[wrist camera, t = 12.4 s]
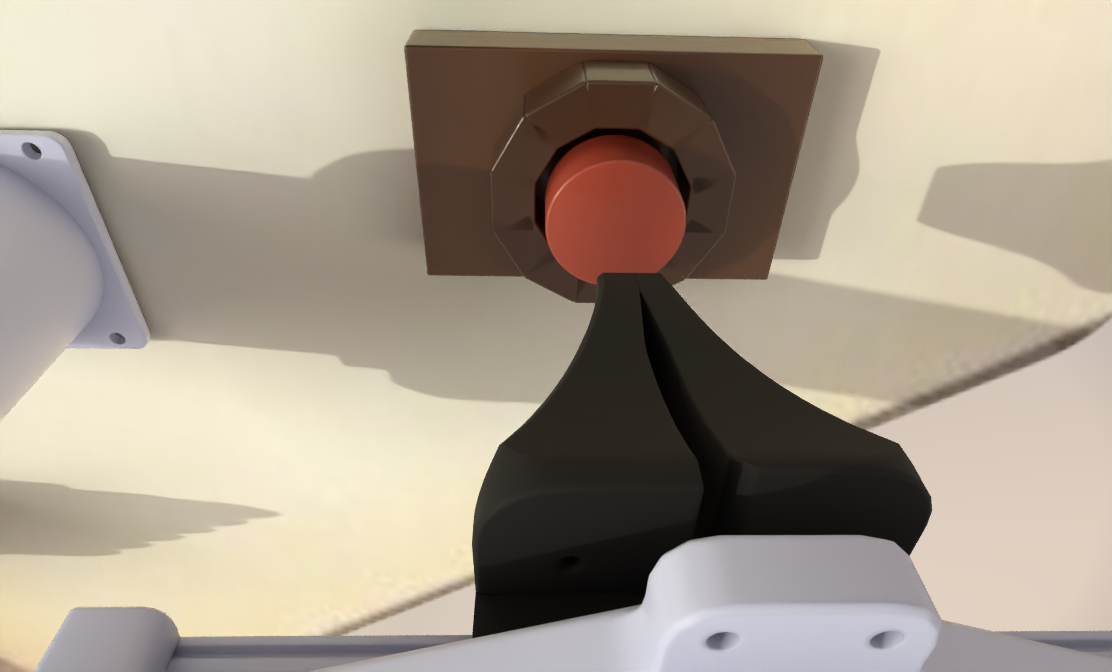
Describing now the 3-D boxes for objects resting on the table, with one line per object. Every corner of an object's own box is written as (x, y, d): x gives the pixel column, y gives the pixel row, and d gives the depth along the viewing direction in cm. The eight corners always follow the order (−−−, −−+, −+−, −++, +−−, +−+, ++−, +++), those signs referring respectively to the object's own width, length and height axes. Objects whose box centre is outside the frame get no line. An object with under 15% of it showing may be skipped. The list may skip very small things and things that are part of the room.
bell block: (433, 249, 23) (419, 308, 20) (412, 29, 19) (390, 65, 16) (754, 253, 23) (783, 312, 21) (805, 38, 19) (849, 75, 16)
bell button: (543, 253, 20) (544, 286, 18) (545, 132, 18) (546, 159, 16) (667, 255, 20) (676, 288, 18) (684, 134, 18) (697, 161, 16)
